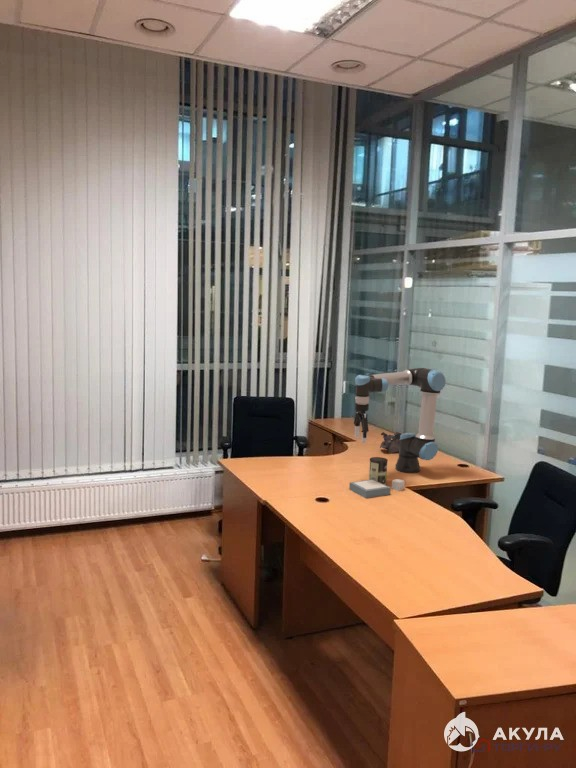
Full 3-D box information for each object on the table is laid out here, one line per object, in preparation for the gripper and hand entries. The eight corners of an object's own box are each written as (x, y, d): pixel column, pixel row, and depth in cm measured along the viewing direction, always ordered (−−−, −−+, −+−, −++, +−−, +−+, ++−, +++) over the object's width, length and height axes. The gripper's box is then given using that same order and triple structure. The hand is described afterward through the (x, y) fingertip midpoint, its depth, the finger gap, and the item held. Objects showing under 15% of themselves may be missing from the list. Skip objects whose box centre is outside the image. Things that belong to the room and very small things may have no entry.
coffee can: (386, 481, 366) (388, 457, 364) (385, 486, 356) (387, 462, 354) (369, 479, 368) (370, 456, 366) (367, 484, 358) (369, 460, 356)
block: (396, 487, 355) (396, 478, 354) (404, 489, 352) (404, 480, 351) (391, 489, 351) (392, 480, 351) (399, 491, 348) (399, 482, 347)
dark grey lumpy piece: (381, 453, 424) (410, 455, 425) (383, 432, 423) (412, 434, 424) (377, 450, 437) (405, 452, 439) (379, 429, 437) (407, 431, 438)
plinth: (372, 486, 356) (373, 478, 355) (390, 494, 342) (390, 487, 341) (349, 489, 348) (349, 482, 347) (365, 498, 334) (366, 490, 334)
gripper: (349, 399, 361) (347, 435, 365) (362, 407, 337) (360, 445, 340) (361, 399, 363) (360, 434, 366) (375, 407, 339) (373, 445, 342)
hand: (360, 440), depth 353 cm, fingers open, 13 cm apart
